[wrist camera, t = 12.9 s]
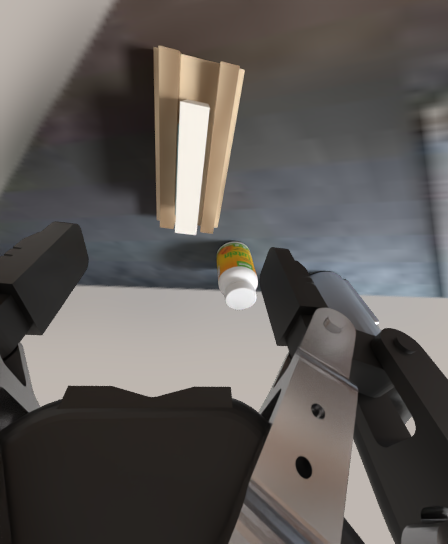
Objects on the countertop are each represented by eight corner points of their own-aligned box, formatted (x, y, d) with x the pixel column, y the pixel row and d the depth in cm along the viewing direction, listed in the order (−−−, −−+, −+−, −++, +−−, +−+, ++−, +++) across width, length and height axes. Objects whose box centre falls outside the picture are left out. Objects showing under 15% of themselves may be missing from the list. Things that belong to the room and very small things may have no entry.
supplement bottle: (251, 239, 33) (264, 282, 25) (248, 267, 36) (260, 312, 29) (215, 241, 33) (219, 285, 25) (216, 269, 36) (220, 314, 29)
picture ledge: (242, 71, 21) (247, 68, 18) (217, 222, 31) (218, 234, 28) (156, 49, 20) (149, 43, 17) (158, 215, 29) (154, 226, 27)
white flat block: (208, 103, 21) (209, 107, 15) (197, 203, 27) (196, 235, 21) (185, 98, 21) (177, 100, 14) (180, 200, 27) (173, 232, 21)
